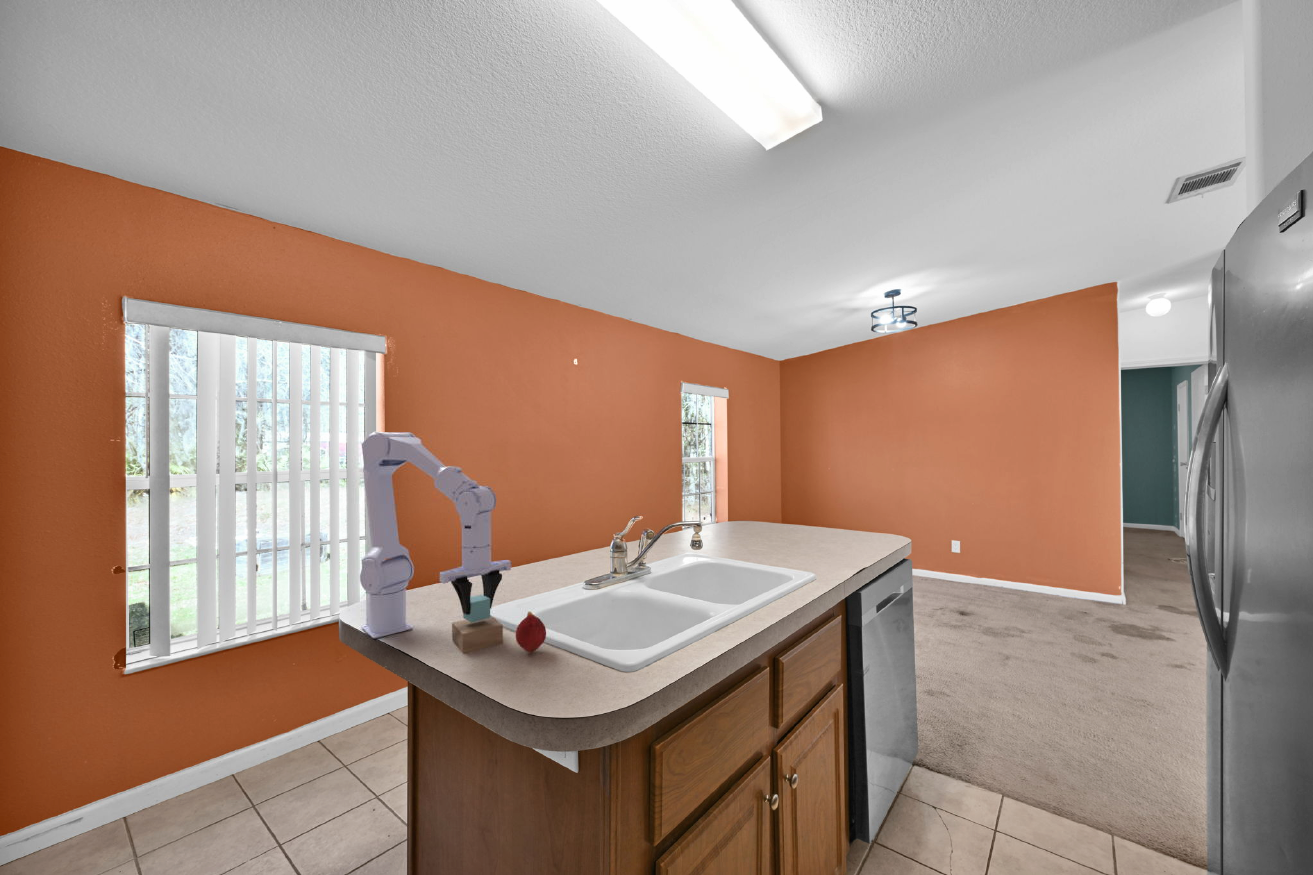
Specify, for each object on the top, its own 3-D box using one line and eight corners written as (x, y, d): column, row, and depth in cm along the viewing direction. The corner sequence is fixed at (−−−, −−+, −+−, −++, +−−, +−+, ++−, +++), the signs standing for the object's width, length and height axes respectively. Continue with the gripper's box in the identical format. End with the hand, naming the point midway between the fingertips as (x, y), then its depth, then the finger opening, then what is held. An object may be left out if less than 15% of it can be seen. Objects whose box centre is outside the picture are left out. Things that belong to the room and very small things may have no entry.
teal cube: (463, 617, 104) (463, 598, 104) (481, 613, 107) (481, 594, 107) (471, 622, 101) (471, 602, 101) (490, 617, 104) (490, 598, 104)
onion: (550, 646, 101) (549, 607, 101) (540, 659, 95) (540, 617, 95) (522, 646, 101) (521, 606, 101) (511, 658, 96) (510, 616, 96)
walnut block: (452, 641, 105) (452, 622, 105) (490, 632, 110) (490, 614, 110) (462, 654, 98) (462, 634, 98) (502, 644, 103) (502, 625, 103)
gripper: (449, 553, 96) (449, 624, 96) (517, 542, 106) (518, 606, 106) (435, 548, 101) (435, 615, 101) (501, 538, 111) (502, 599, 111)
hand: (477, 610), depth 104 cm, fingers closed on teal cube, 4 cm apart
